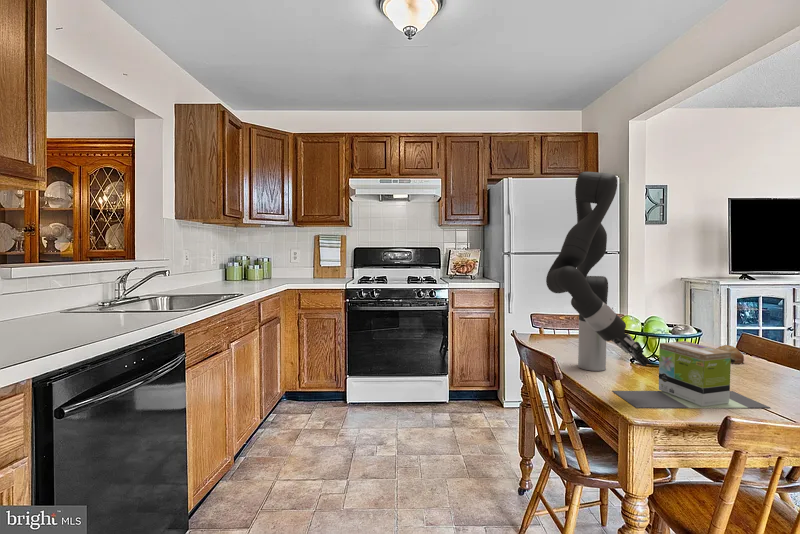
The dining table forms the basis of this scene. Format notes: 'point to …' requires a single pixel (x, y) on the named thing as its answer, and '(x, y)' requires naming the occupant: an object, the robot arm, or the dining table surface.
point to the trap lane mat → (681, 400)
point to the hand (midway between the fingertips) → (645, 363)
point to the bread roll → (733, 354)
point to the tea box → (695, 372)
